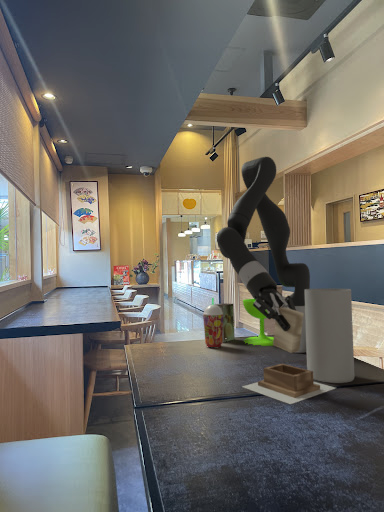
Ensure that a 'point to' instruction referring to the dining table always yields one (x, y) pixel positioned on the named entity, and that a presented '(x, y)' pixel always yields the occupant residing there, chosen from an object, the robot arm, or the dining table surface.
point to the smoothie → (213, 325)
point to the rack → (288, 380)
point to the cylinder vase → (329, 334)
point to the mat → (285, 397)
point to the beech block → (289, 331)
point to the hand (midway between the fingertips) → (292, 328)
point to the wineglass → (262, 338)
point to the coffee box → (227, 321)
